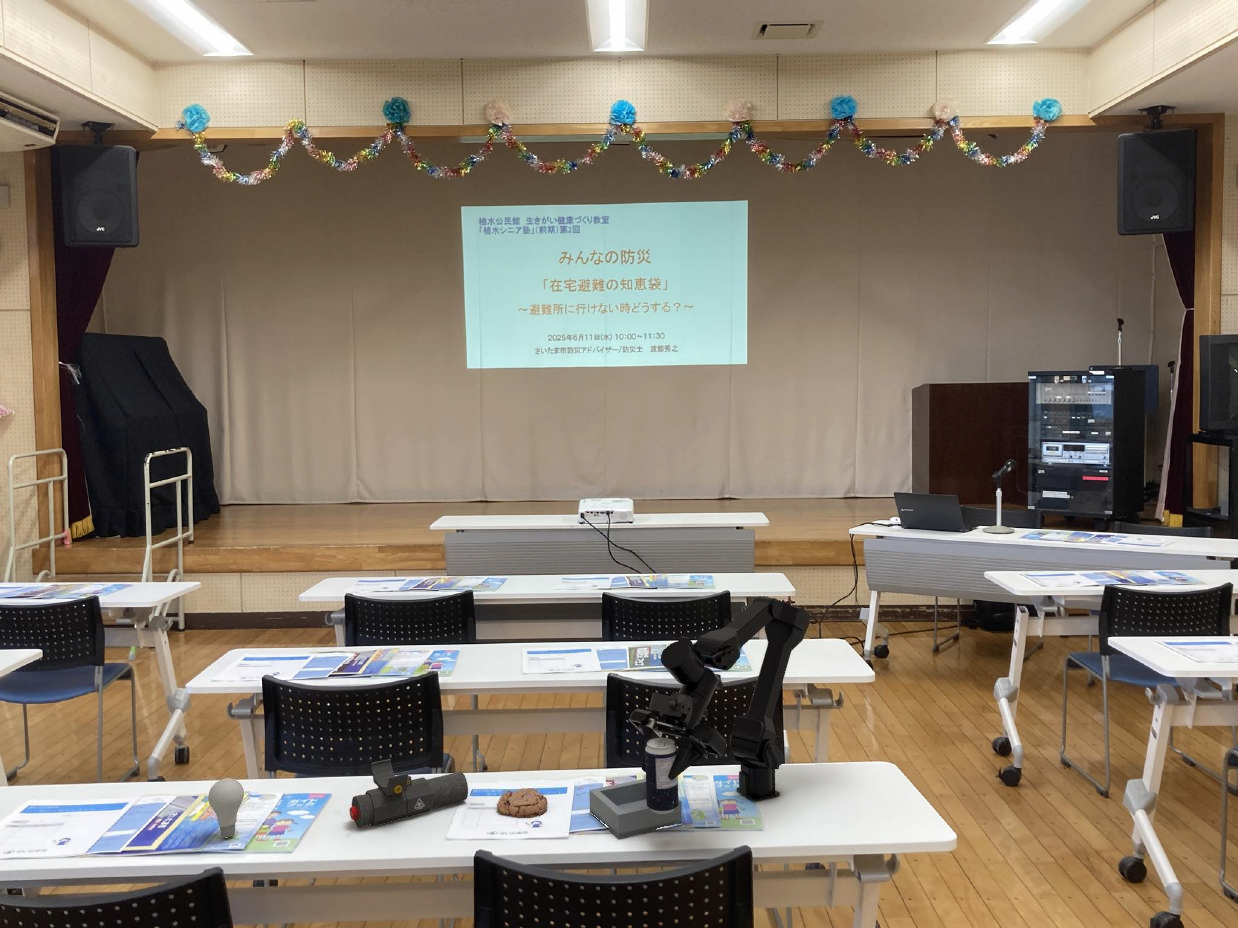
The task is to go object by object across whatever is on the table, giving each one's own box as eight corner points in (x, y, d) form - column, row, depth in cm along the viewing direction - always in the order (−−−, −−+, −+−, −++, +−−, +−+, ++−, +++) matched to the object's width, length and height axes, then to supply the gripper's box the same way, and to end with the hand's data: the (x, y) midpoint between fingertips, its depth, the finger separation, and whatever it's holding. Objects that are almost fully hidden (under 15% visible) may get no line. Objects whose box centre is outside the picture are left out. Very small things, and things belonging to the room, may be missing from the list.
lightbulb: (211, 847, 174) (208, 788, 173) (208, 834, 180) (206, 776, 179) (247, 840, 177) (245, 781, 176) (243, 827, 182) (241, 770, 182)
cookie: (529, 824, 182) (529, 808, 182) (485, 812, 188) (485, 797, 187) (560, 805, 190) (559, 790, 190) (517, 794, 196) (517, 780, 196)
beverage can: (680, 803, 173) (679, 737, 172) (676, 816, 168) (674, 748, 167) (649, 801, 174) (647, 736, 174) (643, 814, 169) (641, 747, 168)
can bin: (650, 799, 191) (649, 777, 191) (681, 824, 180) (681, 800, 179) (589, 812, 186) (589, 789, 186) (618, 839, 174) (618, 814, 174)
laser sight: (473, 808, 189) (471, 758, 189) (360, 838, 177) (358, 785, 176) (452, 792, 197) (451, 744, 197) (344, 820, 185) (342, 769, 185)
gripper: (633, 665, 179) (594, 740, 171) (715, 683, 166) (676, 765, 159) (662, 696, 185) (625, 770, 178) (742, 716, 172) (706, 796, 165)
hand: (656, 774), depth 170 cm, fingers closed on beverage can, 6 cm apart
